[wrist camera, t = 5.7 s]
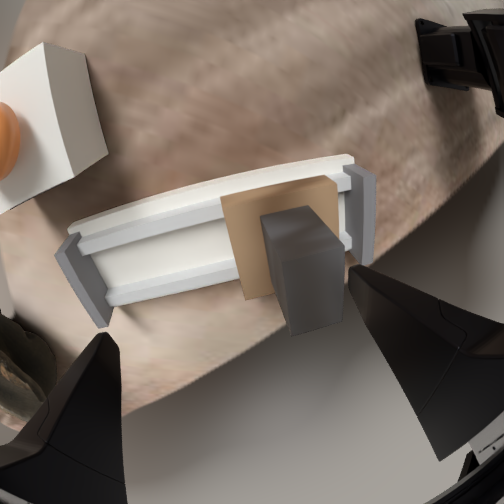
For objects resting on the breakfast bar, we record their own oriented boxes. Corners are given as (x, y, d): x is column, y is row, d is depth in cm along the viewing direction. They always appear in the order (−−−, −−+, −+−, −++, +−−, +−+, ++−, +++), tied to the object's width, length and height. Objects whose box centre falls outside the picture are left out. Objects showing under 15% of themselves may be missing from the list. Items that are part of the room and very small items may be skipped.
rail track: (346, 153, 20) (375, 167, 16) (349, 241, 24) (372, 267, 20) (72, 222, 19) (50, 249, 15) (111, 299, 23) (101, 332, 19)
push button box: (84, 53, 12) (43, 42, 7) (109, 156, 17) (75, 180, 12) (4, 102, 12) (-44, 112, 7) (29, 192, 16) (-12, 224, 11)
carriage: (324, 174, 18) (382, 217, 12) (329, 260, 21) (370, 322, 15) (219, 196, 17) (230, 253, 11) (241, 283, 21) (258, 356, 15)
